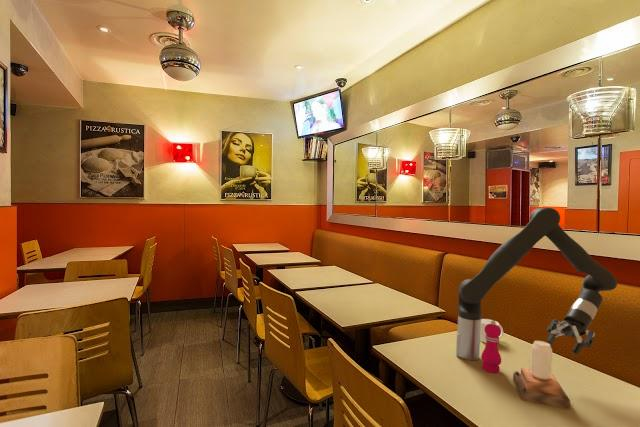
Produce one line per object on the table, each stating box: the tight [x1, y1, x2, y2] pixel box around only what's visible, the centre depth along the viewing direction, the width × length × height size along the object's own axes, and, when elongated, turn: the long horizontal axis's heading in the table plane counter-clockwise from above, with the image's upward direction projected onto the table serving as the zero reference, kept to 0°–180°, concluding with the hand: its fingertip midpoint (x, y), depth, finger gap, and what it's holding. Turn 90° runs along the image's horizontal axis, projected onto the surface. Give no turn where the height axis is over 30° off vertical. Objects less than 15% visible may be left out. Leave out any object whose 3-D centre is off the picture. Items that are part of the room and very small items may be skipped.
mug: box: [480, 318, 504, 344], centre depth 169 cm, size 12×9×9 cm
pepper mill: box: [480, 319, 502, 374], centre depth 138 cm, size 7×7×20 cm
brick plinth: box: [512, 367, 571, 410], centre depth 121 cm, size 14×14×6 cm
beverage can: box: [529, 340, 553, 380], centre depth 121 cm, size 6×6×12 cm
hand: (561, 348), depth 126 cm, fingers open, 8 cm apart
